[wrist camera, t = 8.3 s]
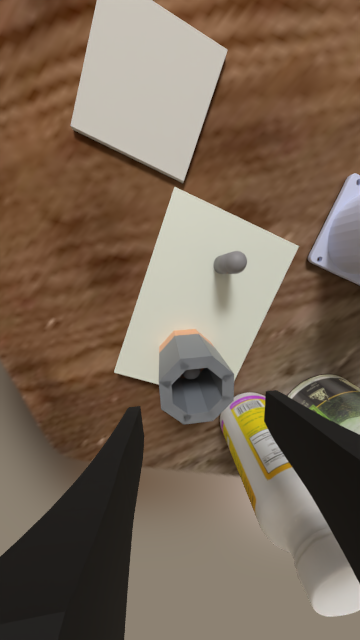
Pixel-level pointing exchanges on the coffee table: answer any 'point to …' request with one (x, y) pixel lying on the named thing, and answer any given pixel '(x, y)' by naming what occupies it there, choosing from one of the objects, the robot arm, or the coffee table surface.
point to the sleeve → (193, 394)
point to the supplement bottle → (288, 509)
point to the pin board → (204, 285)
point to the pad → (146, 84)
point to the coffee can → (331, 399)
